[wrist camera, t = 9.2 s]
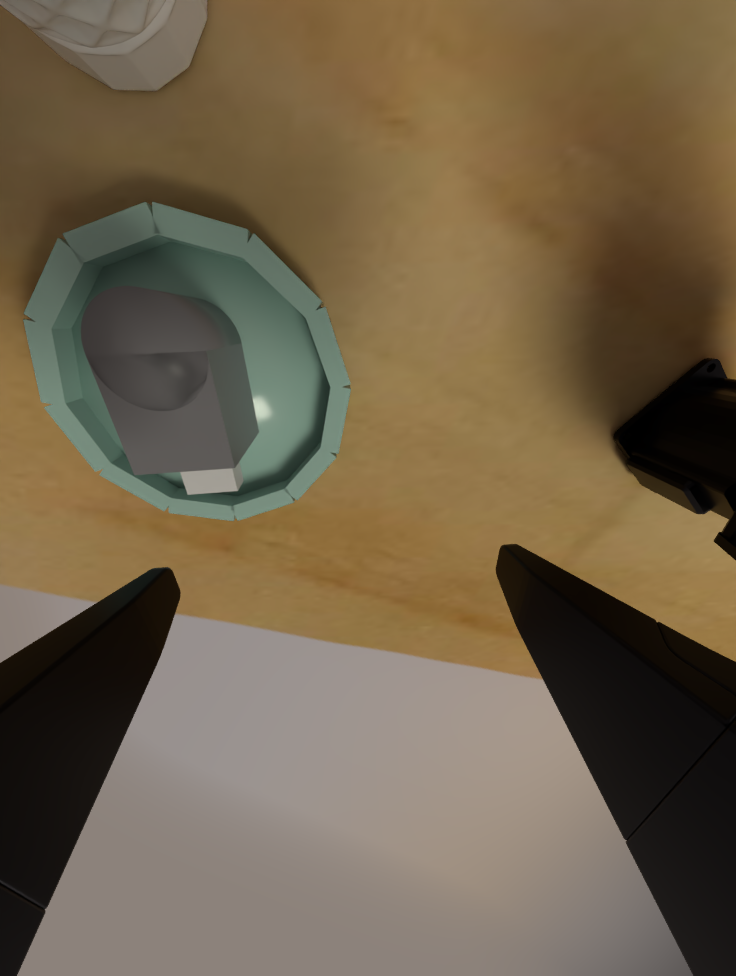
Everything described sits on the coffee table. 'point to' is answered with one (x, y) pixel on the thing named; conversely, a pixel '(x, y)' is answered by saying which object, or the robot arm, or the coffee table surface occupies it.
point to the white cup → (118, 36)
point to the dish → (261, 326)
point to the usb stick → (172, 384)
